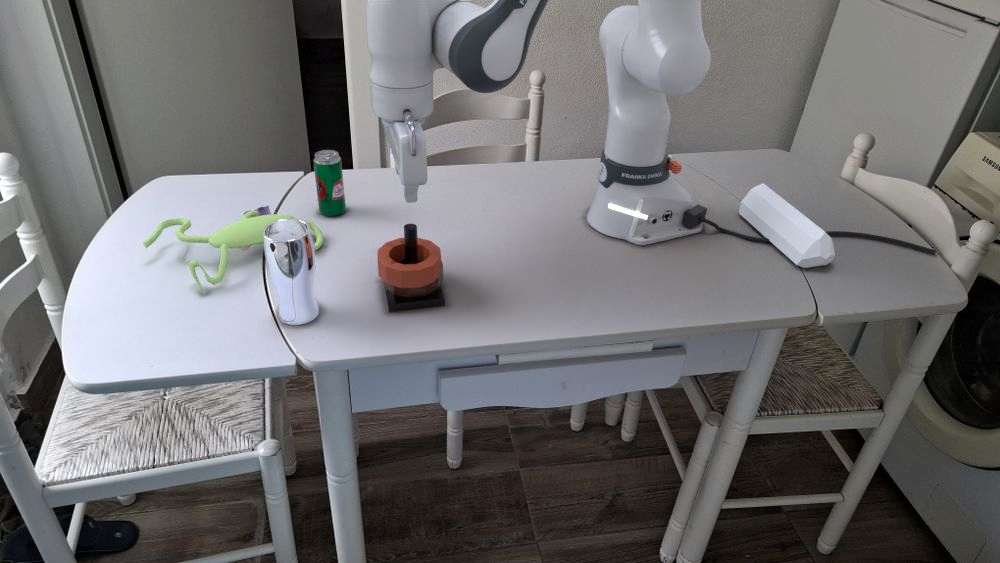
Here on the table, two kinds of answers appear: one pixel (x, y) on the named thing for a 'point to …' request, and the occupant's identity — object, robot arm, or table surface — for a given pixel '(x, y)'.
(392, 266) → the terracotta ring
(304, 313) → the chrome cup
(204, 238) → the pale green curved piece
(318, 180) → the soda can
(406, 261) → the peg stand
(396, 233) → the table surface
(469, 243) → the table surface
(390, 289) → the walnut ring
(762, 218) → the crystal
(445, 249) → the table surface
